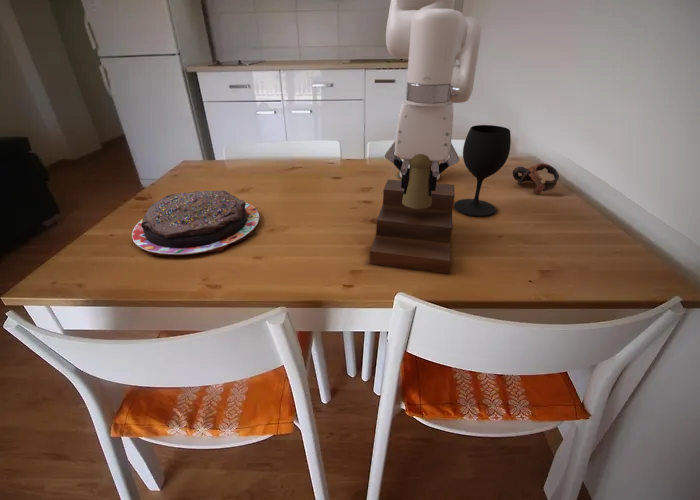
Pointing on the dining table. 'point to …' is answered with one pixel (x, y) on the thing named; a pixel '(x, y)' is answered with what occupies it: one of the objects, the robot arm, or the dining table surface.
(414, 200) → the olive peg figure
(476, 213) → the wine glass
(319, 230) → the dining table surface
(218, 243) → the chocolate cake
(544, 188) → the brown twisted piece
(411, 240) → the spice rack
